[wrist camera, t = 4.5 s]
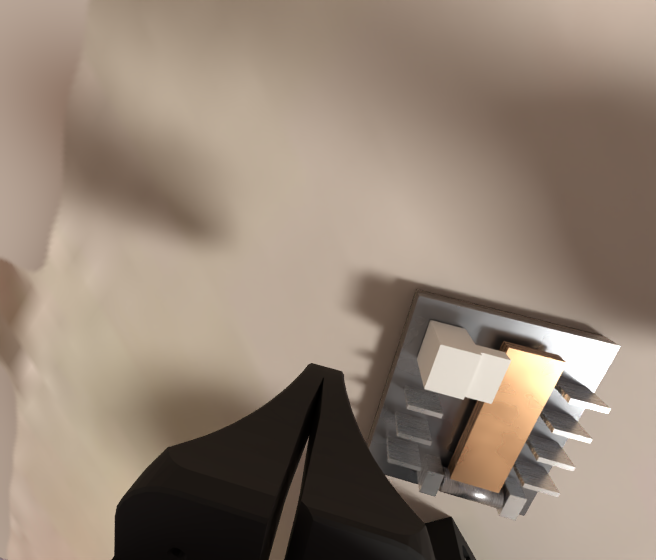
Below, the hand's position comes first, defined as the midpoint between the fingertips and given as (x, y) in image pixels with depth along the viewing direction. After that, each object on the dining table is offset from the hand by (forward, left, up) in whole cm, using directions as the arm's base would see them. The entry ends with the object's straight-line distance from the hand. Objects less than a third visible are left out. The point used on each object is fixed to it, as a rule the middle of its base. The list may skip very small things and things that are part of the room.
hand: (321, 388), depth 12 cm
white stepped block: (-6, 0, -7) cm, 9 cm away
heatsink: (-10, +4, -8) cm, 13 cm away
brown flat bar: (-10, +4, -7) cm, 13 cm away
